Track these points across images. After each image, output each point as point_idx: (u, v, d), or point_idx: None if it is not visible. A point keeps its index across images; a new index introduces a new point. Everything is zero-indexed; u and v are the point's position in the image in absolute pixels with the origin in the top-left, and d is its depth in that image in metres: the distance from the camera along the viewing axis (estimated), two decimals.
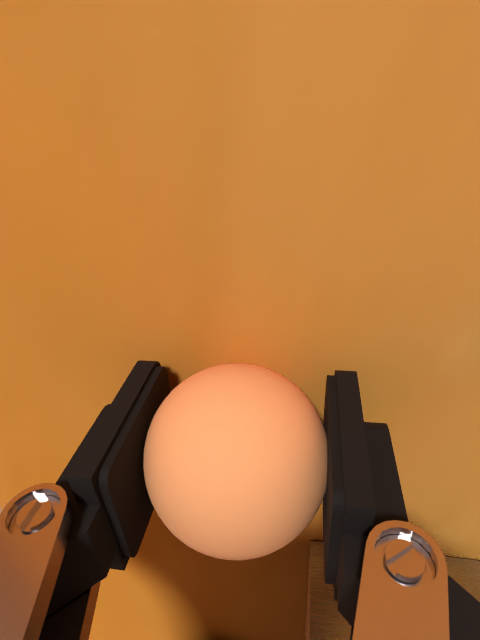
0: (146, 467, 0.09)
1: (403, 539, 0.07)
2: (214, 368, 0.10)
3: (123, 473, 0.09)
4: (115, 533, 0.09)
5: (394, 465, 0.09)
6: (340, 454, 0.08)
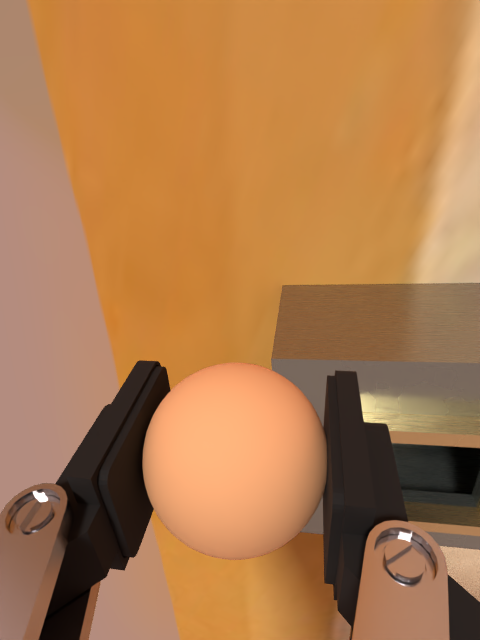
0: (145, 466, 0.09)
1: (403, 539, 0.07)
2: (213, 367, 0.10)
3: (123, 473, 0.09)
4: (115, 533, 0.09)
5: (394, 465, 0.09)
6: (340, 454, 0.08)
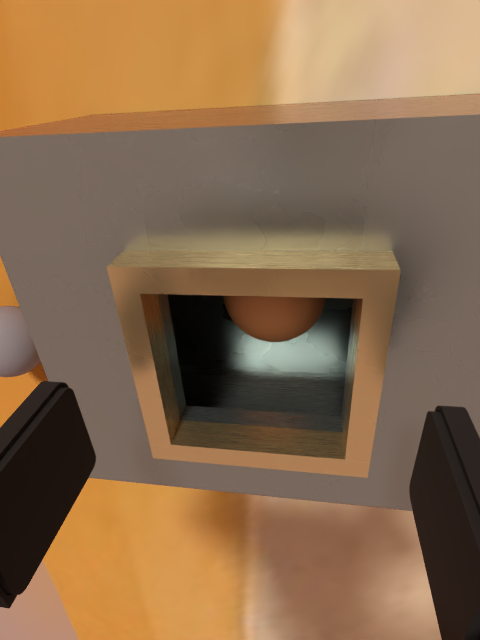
0: None
1: None
2: None
3: None
4: None
5: None
6: (479, 517, 0.07)
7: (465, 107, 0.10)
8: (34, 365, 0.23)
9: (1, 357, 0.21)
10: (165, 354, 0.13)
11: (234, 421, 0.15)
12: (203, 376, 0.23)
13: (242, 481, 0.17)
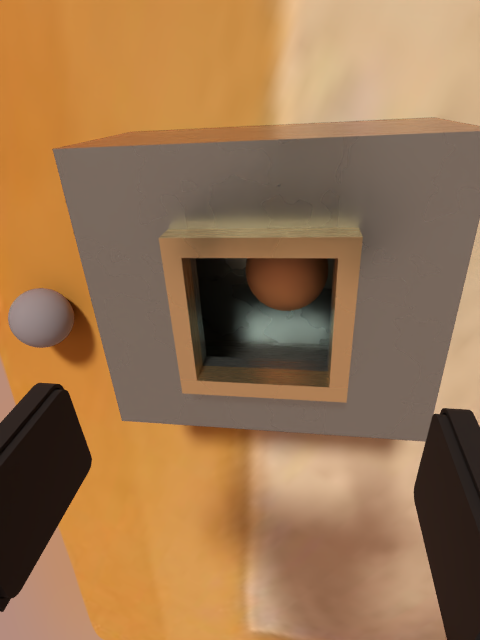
0: (260, 271, 0.20)
1: None
2: None
3: None
4: None
5: None
6: None
7: (407, 128, 0.15)
8: (54, 341, 0.27)
9: (26, 330, 0.25)
10: (194, 309, 0.18)
11: (244, 365, 0.20)
12: (215, 347, 0.27)
13: (250, 418, 0.21)
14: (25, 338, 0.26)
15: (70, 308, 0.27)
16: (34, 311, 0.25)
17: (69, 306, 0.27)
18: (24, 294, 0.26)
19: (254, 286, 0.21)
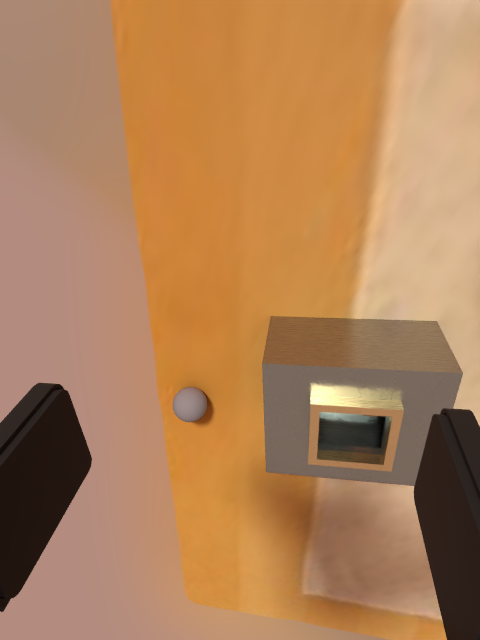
0: None
1: None
2: None
3: None
4: None
5: None
6: None
7: (423, 357, 0.34)
8: (187, 421, 0.46)
9: (174, 410, 0.46)
10: None
11: (338, 449, 0.39)
12: None
13: (338, 473, 0.40)
14: (175, 413, 0.46)
15: (201, 408, 0.45)
16: (180, 404, 0.45)
17: (201, 407, 0.45)
18: (183, 390, 0.46)
19: None
